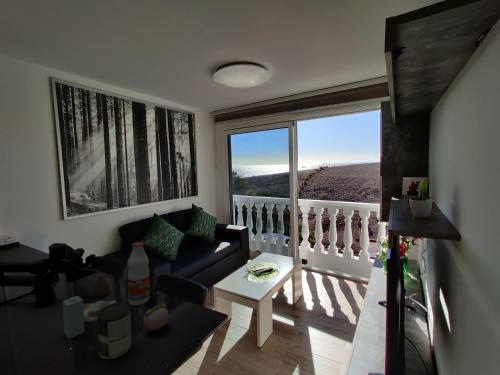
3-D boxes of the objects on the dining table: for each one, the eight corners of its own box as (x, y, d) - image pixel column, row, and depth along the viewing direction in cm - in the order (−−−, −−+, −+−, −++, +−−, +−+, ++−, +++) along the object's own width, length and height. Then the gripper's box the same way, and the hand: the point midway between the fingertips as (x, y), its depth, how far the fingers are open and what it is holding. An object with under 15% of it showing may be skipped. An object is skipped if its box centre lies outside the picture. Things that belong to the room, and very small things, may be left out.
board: (67, 322, 102) (66, 313, 102) (83, 306, 114) (83, 298, 114) (107, 320, 104) (107, 311, 104) (119, 304, 116) (118, 296, 116)
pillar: (64, 333, 96) (62, 299, 95) (79, 327, 100) (77, 293, 99) (69, 339, 93) (67, 303, 92) (84, 332, 97) (83, 297, 96)
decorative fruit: (153, 340, 93) (153, 314, 92) (140, 332, 97) (139, 307, 96) (173, 326, 101) (173, 303, 100) (160, 320, 105) (159, 297, 104)
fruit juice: (150, 294, 126) (149, 239, 124) (149, 303, 117) (148, 245, 115) (129, 297, 123) (128, 241, 120) (127, 307, 114) (125, 247, 112)
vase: (102, 299, 121) (101, 281, 120) (90, 297, 122) (89, 280, 121) (112, 292, 127) (112, 275, 127) (101, 290, 129) (100, 274, 128)
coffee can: (92, 360, 83) (90, 319, 82) (107, 338, 93) (106, 302, 92) (124, 358, 84) (123, 318, 83) (136, 337, 94) (135, 301, 93)
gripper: (51, 257, 105) (89, 258, 107) (78, 243, 124) (110, 244, 125) (51, 282, 106) (89, 283, 108) (78, 265, 125) (110, 266, 126)
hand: (101, 267), depth 117 cm, fingers open, 9 cm apart
